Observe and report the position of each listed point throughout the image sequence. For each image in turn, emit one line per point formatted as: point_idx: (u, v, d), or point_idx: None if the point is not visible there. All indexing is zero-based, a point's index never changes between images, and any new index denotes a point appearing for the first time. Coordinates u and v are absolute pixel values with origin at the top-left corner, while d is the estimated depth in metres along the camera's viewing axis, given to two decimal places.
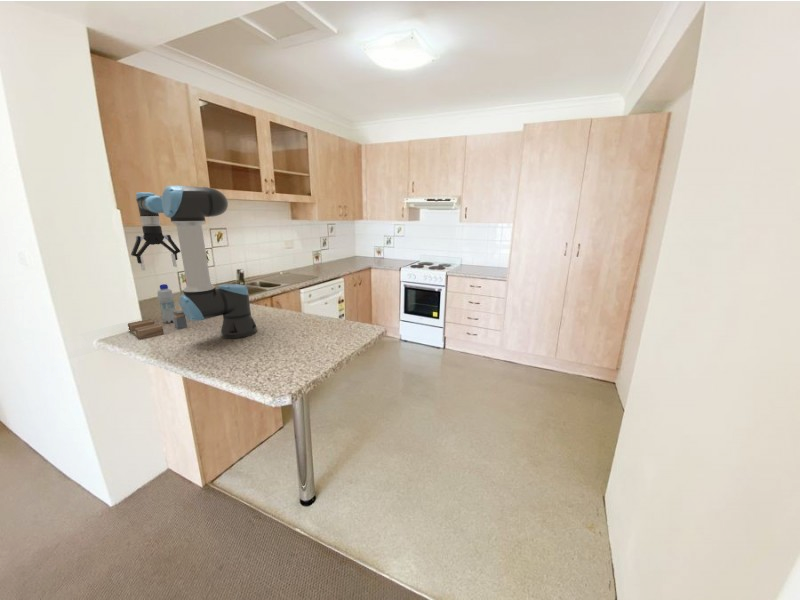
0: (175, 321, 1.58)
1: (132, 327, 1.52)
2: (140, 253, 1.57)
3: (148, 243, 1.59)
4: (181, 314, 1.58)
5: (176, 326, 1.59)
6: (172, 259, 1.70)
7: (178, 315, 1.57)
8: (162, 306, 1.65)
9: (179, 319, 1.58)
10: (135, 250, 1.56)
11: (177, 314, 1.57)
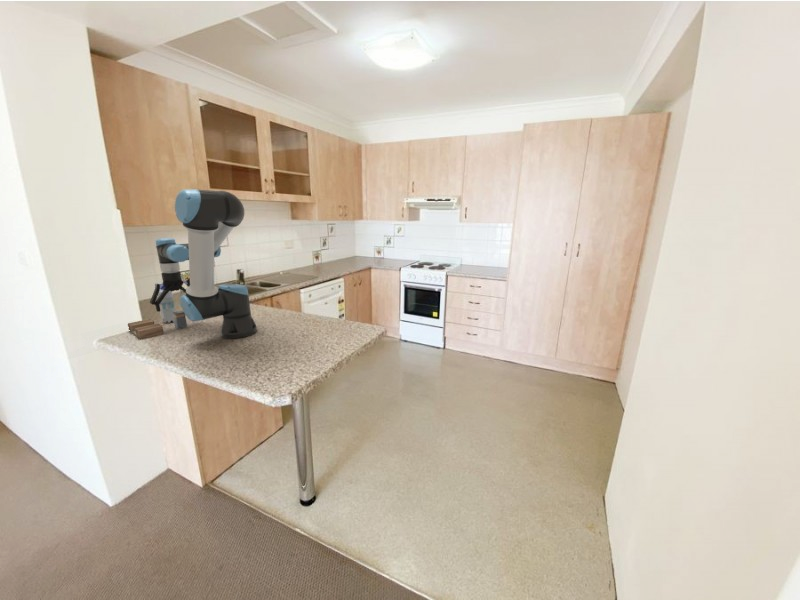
0: (175, 321, 1.58)
1: (132, 327, 1.52)
2: (159, 301, 1.51)
3: (167, 290, 1.53)
4: (181, 314, 1.58)
5: (176, 326, 1.59)
6: None
7: (178, 315, 1.57)
8: (162, 306, 1.65)
9: (179, 319, 1.58)
10: (154, 298, 1.50)
11: (177, 314, 1.57)
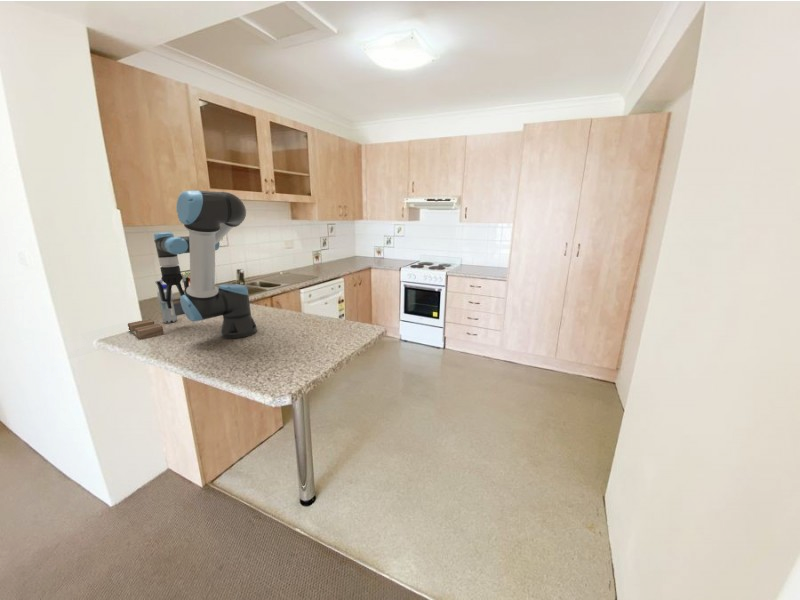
0: None
1: (132, 327, 1.52)
2: (169, 298, 1.54)
3: (170, 285, 1.53)
4: (179, 300, 1.56)
5: None
6: None
7: (175, 301, 1.55)
8: (162, 306, 1.65)
9: (177, 305, 1.56)
10: (163, 296, 1.52)
11: (175, 300, 1.55)
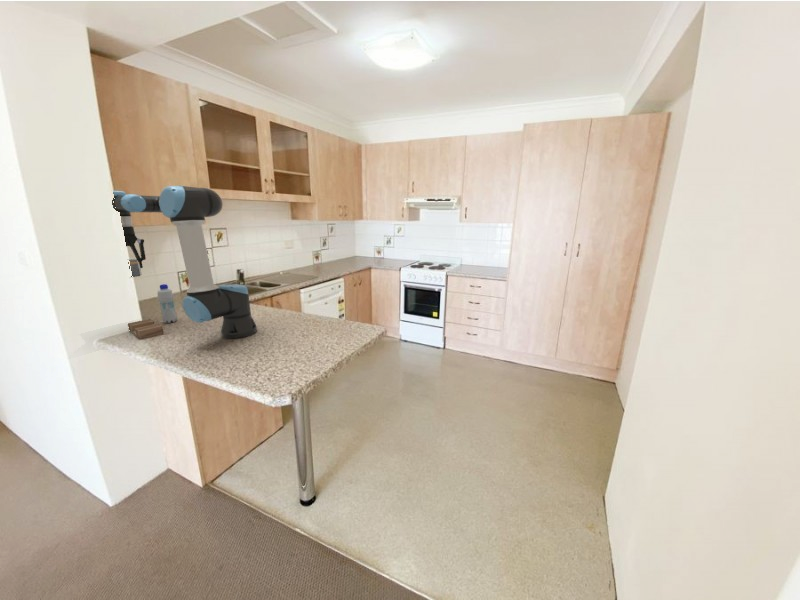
0: None
1: (132, 327, 1.52)
2: None
3: None
4: (133, 261, 1.54)
5: None
6: None
7: None
8: (162, 306, 1.65)
9: (131, 267, 1.54)
10: None
11: None
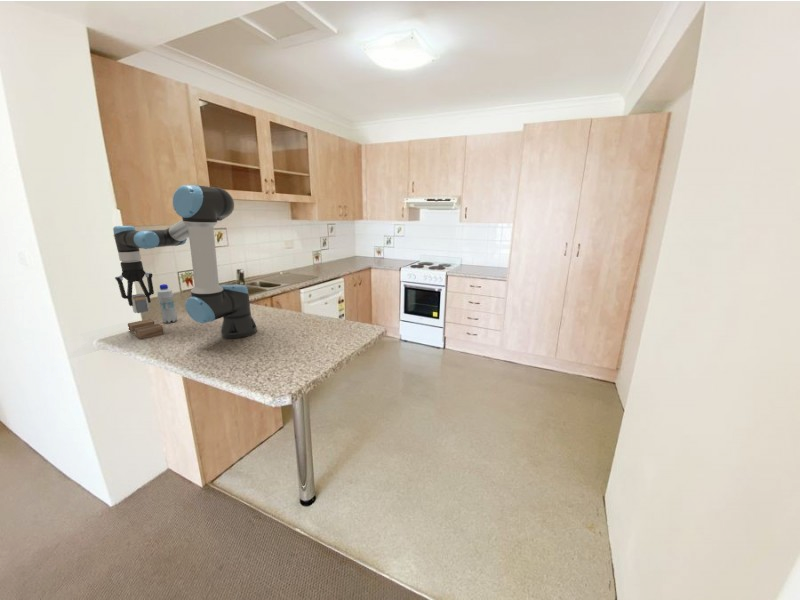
0: None
1: (132, 327, 1.52)
2: (130, 295, 1.46)
3: (131, 282, 1.45)
4: (141, 297, 1.49)
5: None
6: None
7: (137, 298, 1.48)
8: (162, 306, 1.65)
9: (139, 302, 1.49)
10: (123, 292, 1.44)
11: (136, 297, 1.48)
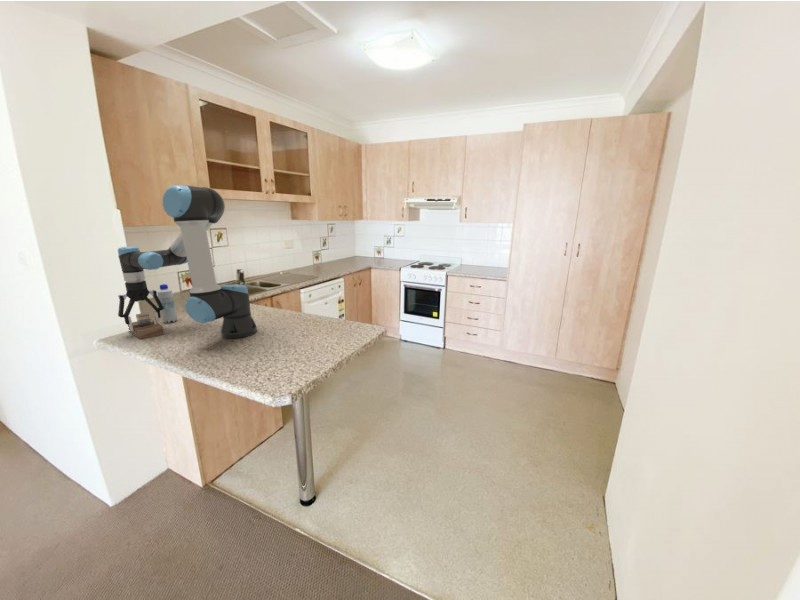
0: (139, 324, 1.51)
1: None
2: (127, 313, 1.47)
3: (133, 301, 1.47)
4: (145, 316, 1.51)
5: None
6: (155, 317, 1.57)
7: (141, 317, 1.50)
8: None
9: (143, 322, 1.51)
10: (121, 311, 1.45)
11: (140, 316, 1.50)
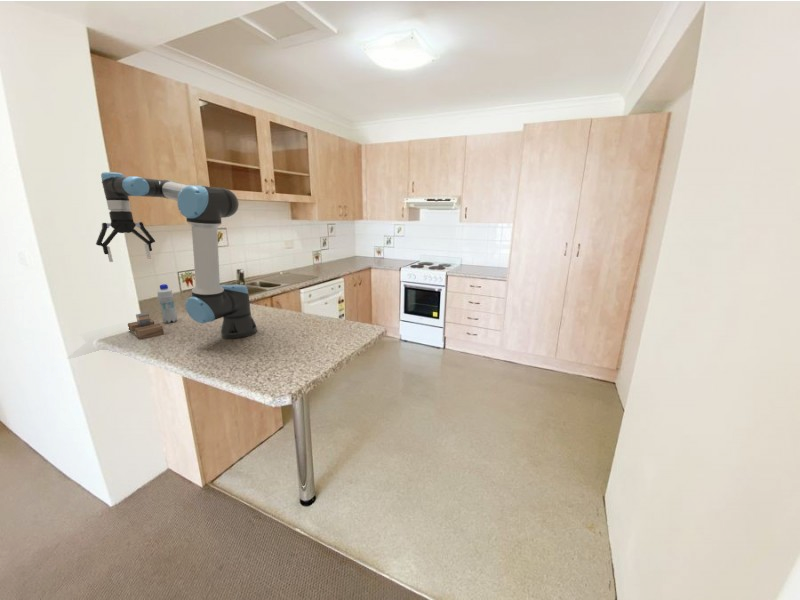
0: (139, 324, 1.51)
1: (132, 327, 1.52)
2: (107, 242, 1.37)
3: (116, 231, 1.39)
4: (145, 316, 1.51)
5: None
6: (146, 250, 1.50)
7: (141, 317, 1.50)
8: (162, 306, 1.65)
9: (143, 322, 1.51)
10: (100, 239, 1.36)
11: (140, 316, 1.50)
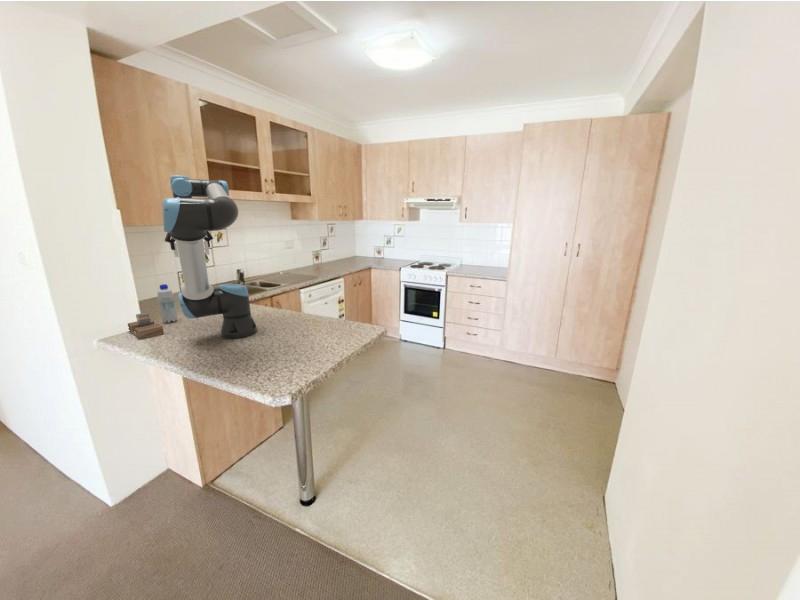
0: (139, 324, 1.51)
1: (132, 327, 1.52)
2: (174, 239, 1.51)
3: None
4: (145, 316, 1.51)
5: None
6: (204, 246, 1.64)
7: (141, 317, 1.50)
8: (162, 306, 1.65)
9: (143, 322, 1.51)
10: (169, 236, 1.49)
11: (140, 316, 1.50)
